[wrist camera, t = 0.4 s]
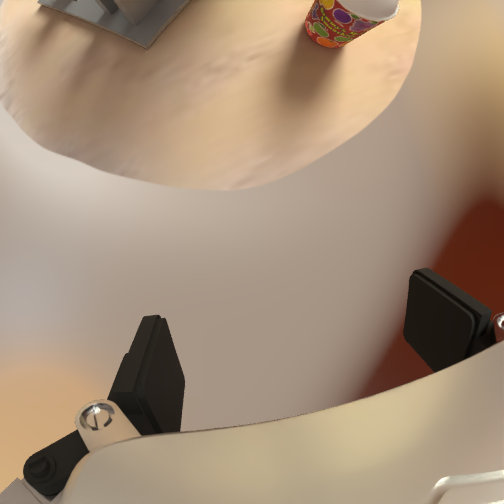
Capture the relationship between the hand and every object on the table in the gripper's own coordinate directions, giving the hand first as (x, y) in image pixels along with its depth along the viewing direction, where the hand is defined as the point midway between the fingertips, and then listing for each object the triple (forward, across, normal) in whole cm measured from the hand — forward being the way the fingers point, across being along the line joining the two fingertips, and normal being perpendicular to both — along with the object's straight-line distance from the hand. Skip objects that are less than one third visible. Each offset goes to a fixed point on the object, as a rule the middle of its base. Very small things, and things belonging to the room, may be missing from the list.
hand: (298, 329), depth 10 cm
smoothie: (+31, -15, -24) cm, 42 cm away
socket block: (+31, +15, -36) cm, 50 cm away
